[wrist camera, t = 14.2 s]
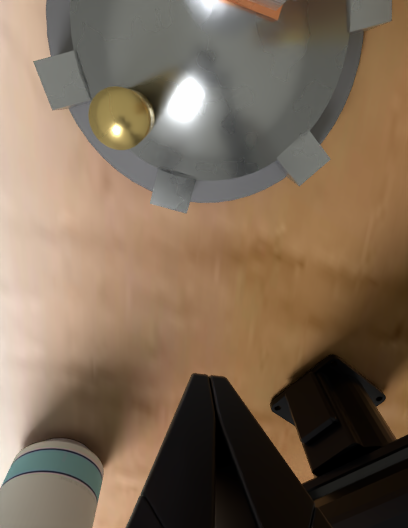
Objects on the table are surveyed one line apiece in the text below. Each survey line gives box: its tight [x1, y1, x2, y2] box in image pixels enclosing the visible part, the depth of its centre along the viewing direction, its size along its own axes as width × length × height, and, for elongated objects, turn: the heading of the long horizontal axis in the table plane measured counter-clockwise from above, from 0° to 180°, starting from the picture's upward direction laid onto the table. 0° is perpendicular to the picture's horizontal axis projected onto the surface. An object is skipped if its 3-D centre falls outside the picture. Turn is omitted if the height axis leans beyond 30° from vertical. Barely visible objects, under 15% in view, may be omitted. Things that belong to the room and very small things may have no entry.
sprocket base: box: [46, 0, 364, 203], centre depth 16 cm, size 14×14×1 cm
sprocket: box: [33, 0, 392, 214], centre depth 13 cm, size 14×13×5 cm
